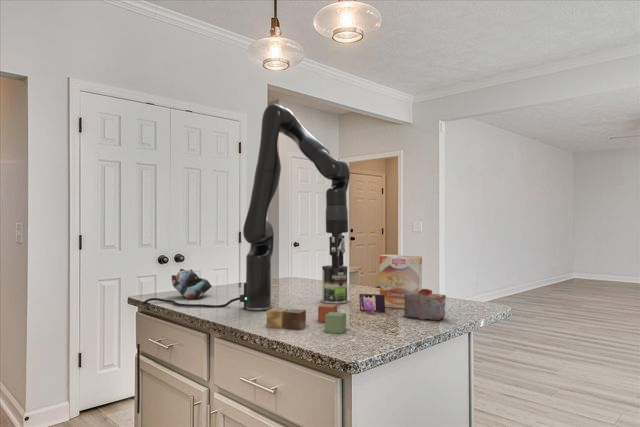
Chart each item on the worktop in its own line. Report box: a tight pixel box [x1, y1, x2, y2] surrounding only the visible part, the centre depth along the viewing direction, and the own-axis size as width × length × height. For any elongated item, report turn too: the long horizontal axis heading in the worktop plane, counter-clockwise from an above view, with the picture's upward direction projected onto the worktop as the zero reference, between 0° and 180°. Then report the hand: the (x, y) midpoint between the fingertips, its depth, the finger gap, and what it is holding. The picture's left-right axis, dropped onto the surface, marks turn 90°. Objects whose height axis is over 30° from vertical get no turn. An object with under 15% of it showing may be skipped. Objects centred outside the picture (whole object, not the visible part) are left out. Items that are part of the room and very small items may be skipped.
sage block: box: [324, 311, 347, 334], centre depth 133 cm, size 5×5×5 cm
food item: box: [404, 288, 447, 321], centre depth 151 cm, size 14×8×10 cm, turn 62°
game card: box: [358, 293, 386, 314], centre depth 159 cm, size 7×5×9 cm
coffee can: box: [321, 265, 348, 305], centre depth 181 cm, size 10×10×14 cm
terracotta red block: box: [317, 303, 338, 323], centre depth 146 cm, size 5×5×5 cm
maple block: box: [266, 307, 289, 329], centre depth 139 cm, size 5×5×5 cm
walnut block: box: [284, 308, 307, 331], centre depth 137 cm, size 5×5×5 cm
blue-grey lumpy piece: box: [170, 268, 213, 300], centre depth 190 cm, size 15×12×14 cm
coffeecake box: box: [379, 254, 423, 310], centre depth 170 cm, size 15×7×20 cm, turn 68°
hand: (337, 266), depth 151 cm, fingers open, 8 cm apart
